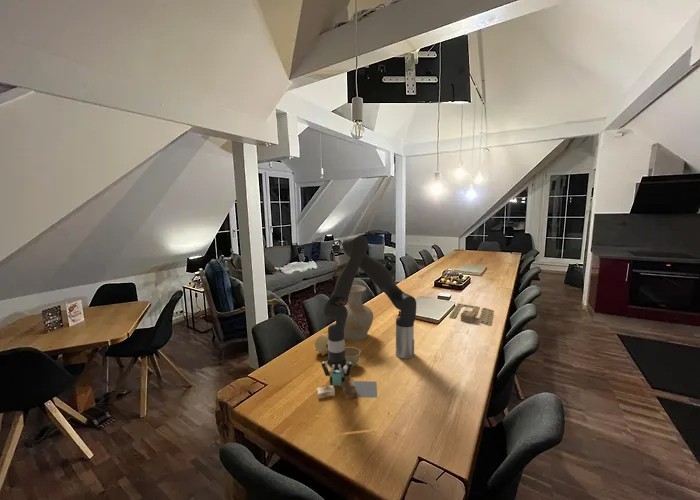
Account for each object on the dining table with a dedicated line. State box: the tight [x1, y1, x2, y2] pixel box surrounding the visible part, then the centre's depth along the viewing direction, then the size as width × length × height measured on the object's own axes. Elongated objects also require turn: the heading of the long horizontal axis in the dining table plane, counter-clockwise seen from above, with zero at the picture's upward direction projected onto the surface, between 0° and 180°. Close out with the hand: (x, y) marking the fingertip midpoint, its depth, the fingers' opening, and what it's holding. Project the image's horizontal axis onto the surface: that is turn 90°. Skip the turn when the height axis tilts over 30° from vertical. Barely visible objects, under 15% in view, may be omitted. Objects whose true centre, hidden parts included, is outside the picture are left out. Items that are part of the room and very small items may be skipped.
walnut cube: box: [341, 378, 358, 400], centre depth 125 cm, size 5×5×5 cm
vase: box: [344, 284, 374, 342], centre depth 179 cm, size 22×22×30 cm
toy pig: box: [314, 333, 328, 357], centre depth 160 cm, size 10×12×11 cm
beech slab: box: [316, 384, 336, 399], centre depth 126 cm, size 7×4×3 cm, turn 104°
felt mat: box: [354, 380, 378, 398], centre depth 129 cm, size 11×11×1 cm
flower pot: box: [345, 346, 361, 369], centre depth 149 cm, size 10×10×7 cm
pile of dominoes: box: [448, 303, 494, 327], centre depth 213 cm, size 35×27×6 cm
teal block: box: [331, 370, 343, 387], centre depth 133 cm, size 4×4×6 cm
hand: (337, 383), depth 134 cm, fingers closed on teal block, 4 cm apart
